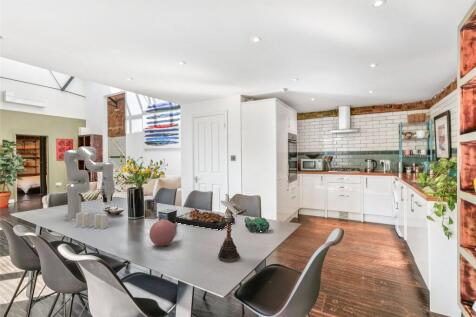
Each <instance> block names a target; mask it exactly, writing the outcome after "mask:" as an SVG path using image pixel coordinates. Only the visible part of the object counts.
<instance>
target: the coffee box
mask: <svg viewBox="0 0 476 317" xmlns="http://www.w3.org/2000/svg"><path fill="white" fill-rule="evenodd" d="M157 201H158V200H157V199H156V198H155V199H154V198H152V199H145V200H144V201H143V202H144V204H143V206H144V208H143V209H144V212H143V214H144V218H143V219H144V220H146V219H147V220H149V219H150V220H151V219H152V220H154V218H155V219H157V218H158V211H157V210H158V202H157Z"/></svg>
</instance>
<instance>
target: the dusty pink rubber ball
mask: <svg viewBox="0 0 476 317" xmlns="http://www.w3.org/2000/svg"><path fill="white" fill-rule="evenodd" d="M178 226H179V224H178V223H173V222H172V221H170V220H167V219H160V220H157V221H155V223H153V224H152V225H151V227H150V229H149V235H148V236H149V239H150V241H151V242H152V243H153V244H154V245H155V246H158V247H165V246H167V245H170V244H171V242H173V240H174V239H175V237H176V233H177V232H176V228H177V227H178Z"/></svg>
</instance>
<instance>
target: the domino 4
mask: <svg viewBox="0 0 476 317" xmlns="http://www.w3.org/2000/svg"><path fill="white" fill-rule="evenodd" d="M111 202H112V201H111V193H108V194H107V202H103V203H104V206H108V205H112V203H111Z"/></svg>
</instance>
